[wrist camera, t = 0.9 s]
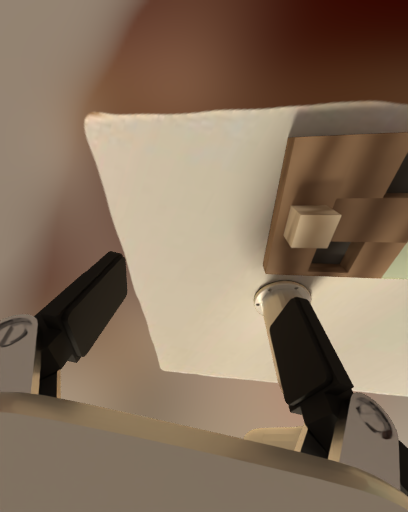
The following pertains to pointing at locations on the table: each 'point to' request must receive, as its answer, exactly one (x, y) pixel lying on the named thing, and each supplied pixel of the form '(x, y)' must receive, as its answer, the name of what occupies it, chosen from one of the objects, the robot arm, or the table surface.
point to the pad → (398, 266)
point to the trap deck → (344, 204)
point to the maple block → (311, 226)
